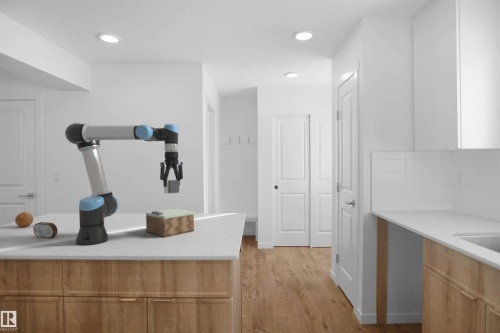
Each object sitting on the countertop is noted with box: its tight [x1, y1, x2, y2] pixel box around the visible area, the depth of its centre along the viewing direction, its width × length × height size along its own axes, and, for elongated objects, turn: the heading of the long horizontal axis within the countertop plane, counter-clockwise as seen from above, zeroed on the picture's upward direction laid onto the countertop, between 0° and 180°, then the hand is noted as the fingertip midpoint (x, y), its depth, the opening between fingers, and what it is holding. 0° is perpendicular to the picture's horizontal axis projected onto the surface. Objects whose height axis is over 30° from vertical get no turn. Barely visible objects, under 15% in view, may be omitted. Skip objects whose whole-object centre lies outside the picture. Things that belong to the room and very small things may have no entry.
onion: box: [14, 211, 34, 228], centre depth 205 cm, size 10×10×10 cm
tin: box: [32, 221, 58, 239], centre depth 176 cm, size 15×3×8 cm, turn 74°
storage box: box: [145, 214, 195, 238], centre depth 186 cm, size 20×20×10 cm
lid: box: [145, 208, 195, 219], centre depth 186 cm, size 20×20×3 cm
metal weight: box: [163, 179, 180, 194], centre depth 177 cm, size 6×6×7 cm
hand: (171, 191), depth 177 cm, fingers closed on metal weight, 6 cm apart
